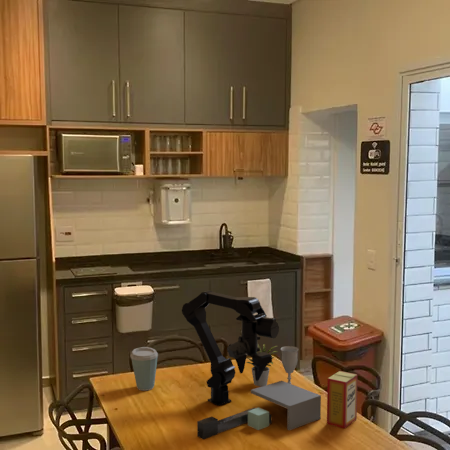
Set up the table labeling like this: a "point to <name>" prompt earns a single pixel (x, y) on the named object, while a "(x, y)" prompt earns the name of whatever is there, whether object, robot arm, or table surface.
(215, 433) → the dark grey hook tool
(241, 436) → the table surface
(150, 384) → the disposable coffee cup
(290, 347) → the chalice
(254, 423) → the block
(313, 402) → the cubby
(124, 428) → the table surface
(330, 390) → the baking soda box
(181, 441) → the table surface
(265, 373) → the house plant
